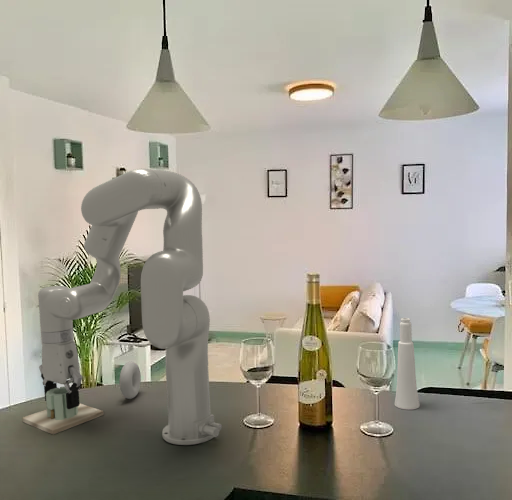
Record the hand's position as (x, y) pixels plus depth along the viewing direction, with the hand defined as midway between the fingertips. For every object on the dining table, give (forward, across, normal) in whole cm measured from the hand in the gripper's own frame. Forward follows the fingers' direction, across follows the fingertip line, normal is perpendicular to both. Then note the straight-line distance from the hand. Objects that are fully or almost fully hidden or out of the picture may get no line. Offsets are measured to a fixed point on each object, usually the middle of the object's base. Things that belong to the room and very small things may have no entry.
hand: (62, 403), depth 133 cm
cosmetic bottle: (+4, -68, -53) cm, 86 cm away
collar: (+3, 0, 0) cm, 3 cm away
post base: (+4, 0, 0) cm, 4 cm away
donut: (+4, -3, -19) cm, 20 cm away
